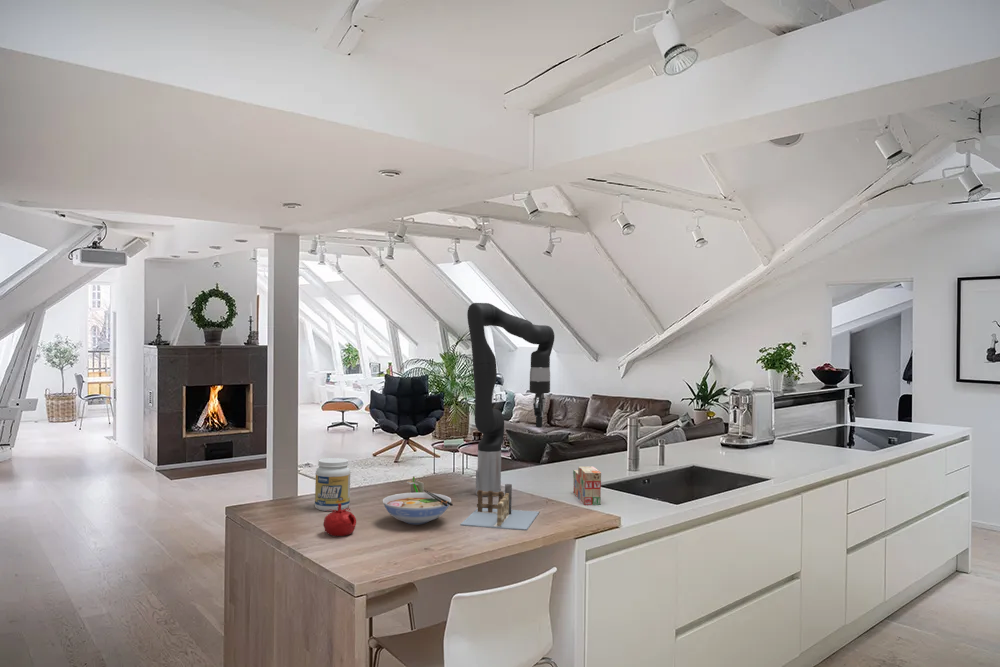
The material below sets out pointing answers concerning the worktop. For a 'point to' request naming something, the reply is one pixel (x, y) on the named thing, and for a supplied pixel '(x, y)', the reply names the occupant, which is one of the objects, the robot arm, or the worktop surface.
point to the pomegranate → (339, 522)
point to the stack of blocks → (587, 485)
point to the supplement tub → (332, 484)
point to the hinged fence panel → (503, 509)
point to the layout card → (512, 521)
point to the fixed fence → (490, 498)
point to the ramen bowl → (416, 506)
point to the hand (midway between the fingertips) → (539, 427)
